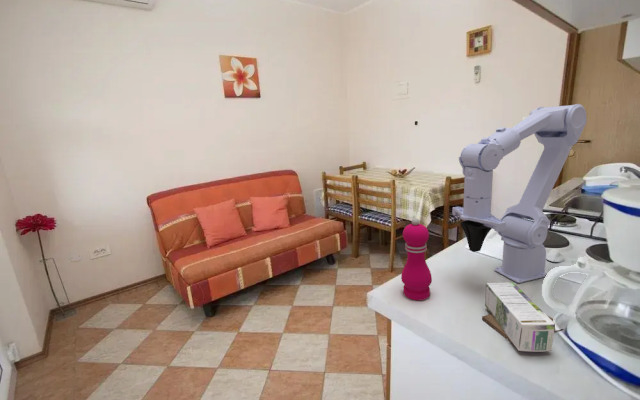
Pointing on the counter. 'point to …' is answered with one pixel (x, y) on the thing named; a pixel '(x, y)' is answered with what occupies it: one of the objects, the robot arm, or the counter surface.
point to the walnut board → (497, 325)
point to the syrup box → (519, 317)
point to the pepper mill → (416, 262)
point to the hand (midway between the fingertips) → (475, 250)
